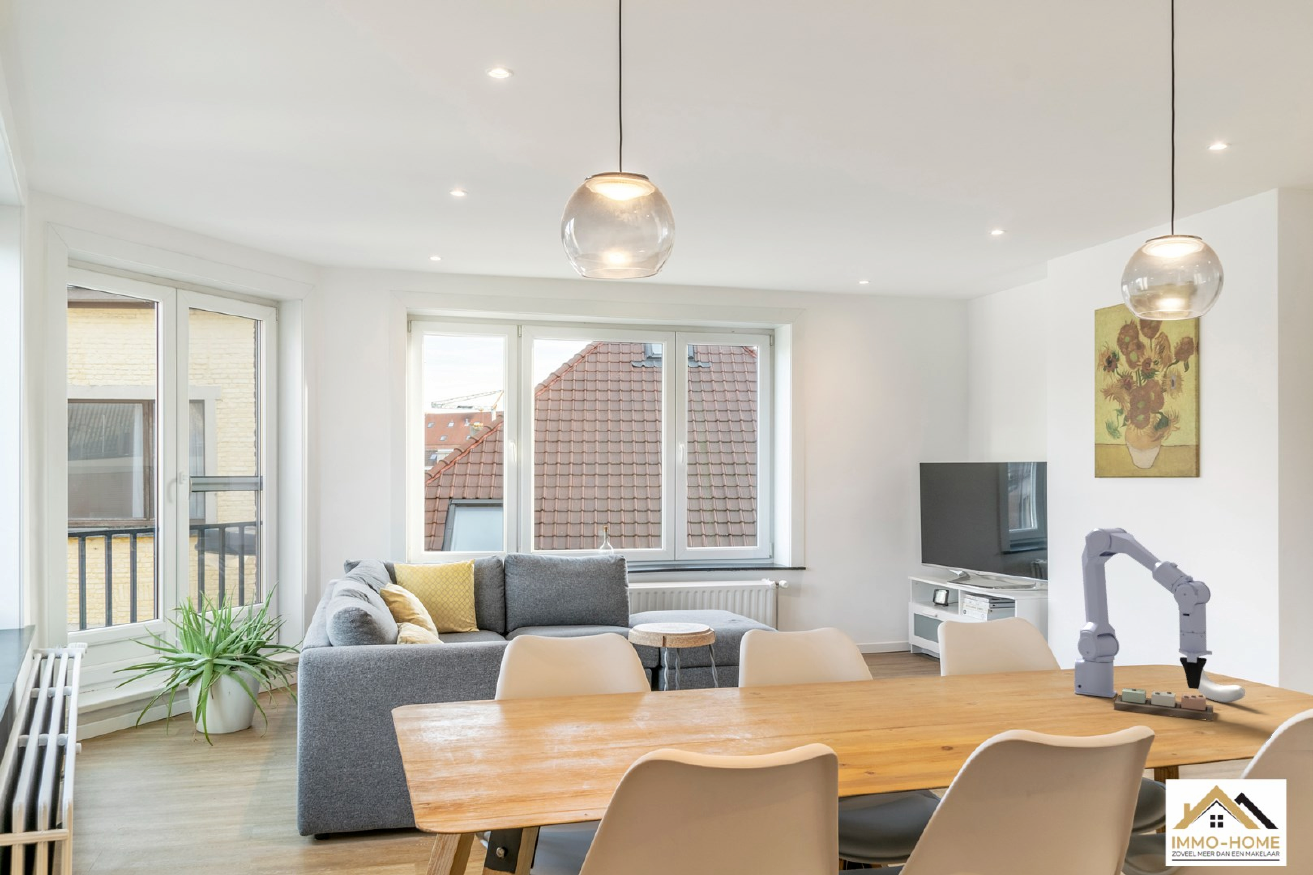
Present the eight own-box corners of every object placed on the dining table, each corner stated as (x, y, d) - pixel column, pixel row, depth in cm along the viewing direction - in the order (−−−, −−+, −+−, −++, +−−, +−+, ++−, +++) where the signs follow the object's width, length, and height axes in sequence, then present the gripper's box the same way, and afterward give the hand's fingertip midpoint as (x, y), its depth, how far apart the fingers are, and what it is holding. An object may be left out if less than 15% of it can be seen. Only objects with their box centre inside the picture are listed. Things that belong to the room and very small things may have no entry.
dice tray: (1114, 709, 241) (1114, 702, 241) (1118, 700, 250) (1118, 694, 250) (1212, 720, 230) (1211, 714, 230) (1213, 711, 239) (1213, 705, 239)
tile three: (1181, 707, 236) (1181, 696, 236) (1182, 703, 240) (1182, 692, 240) (1205, 710, 233) (1204, 698, 233) (1205, 706, 238) (1205, 695, 238)
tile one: (1122, 700, 243) (1121, 689, 243) (1124, 697, 247) (1124, 686, 247) (1144, 703, 240) (1144, 692, 240) (1146, 699, 244) (1146, 688, 244)
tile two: (1151, 704, 239) (1151, 693, 239) (1152, 700, 243) (1152, 689, 244) (1174, 706, 237) (1174, 695, 237) (1175, 702, 241) (1175, 691, 241)
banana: (1240, 710, 242) (1239, 650, 242) (1180, 694, 260) (1179, 638, 261) (1256, 709, 243) (1255, 650, 244) (1195, 693, 261) (1194, 638, 262)
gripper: (1210, 636, 229) (1211, 695, 229) (1212, 629, 242) (1213, 684, 241) (1176, 634, 233) (1177, 691, 232) (1180, 626, 245) (1181, 681, 245)
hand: (1193, 688), depth 237 cm, fingers closed
